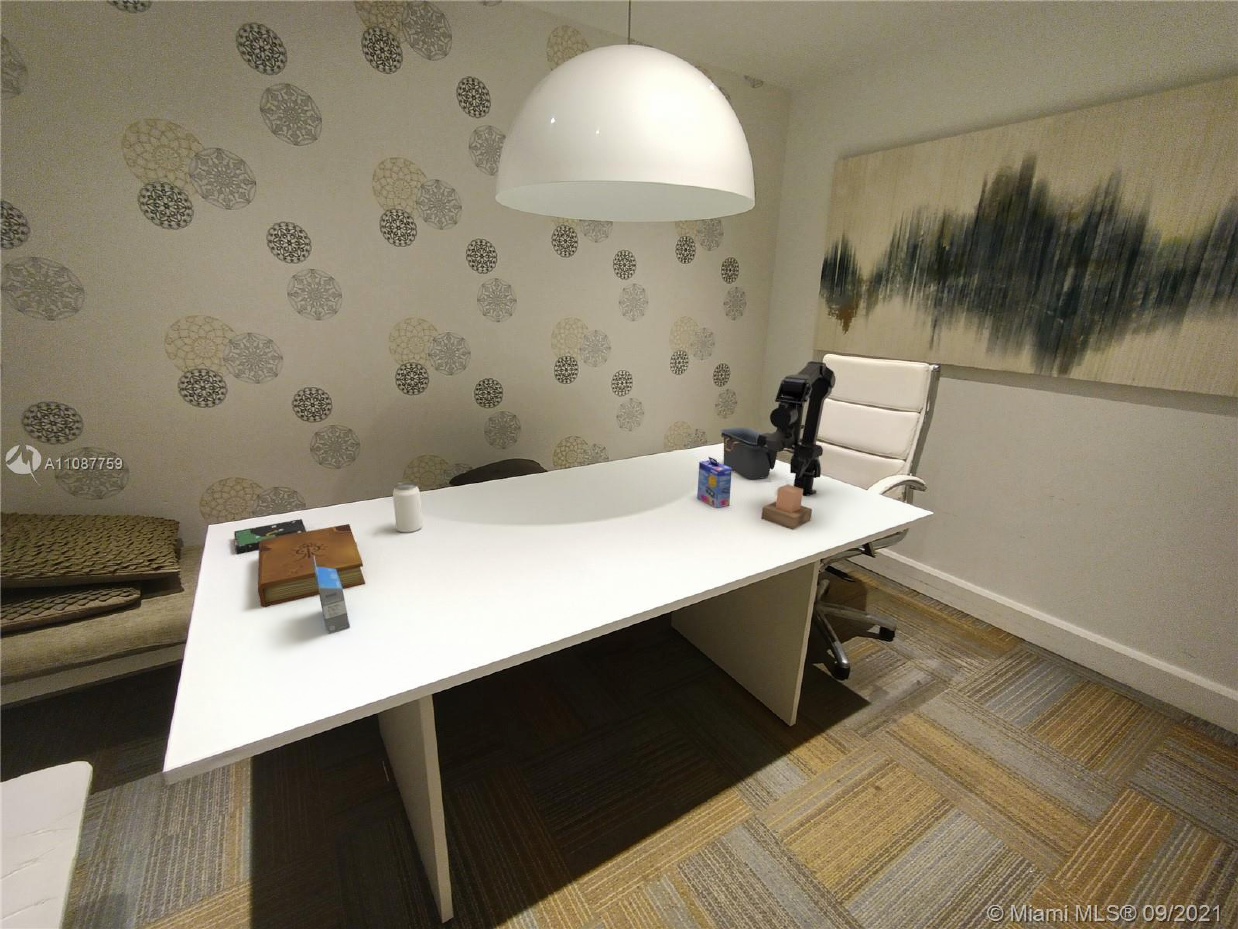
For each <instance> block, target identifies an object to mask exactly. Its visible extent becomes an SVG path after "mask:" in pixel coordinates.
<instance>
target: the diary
mask: <svg viewBox="0 0 1238 929" xmlns="http://www.w3.org/2000/svg"><path fill="white" fill-rule="evenodd" d="M314 555H315V562H316V567H323V568H331V569H336V570H337V573H338V576H339V579H340V582H341V585H342V588H343V590H346V589H351V588H355V587H359V586H363V585H366V581H365V578H364V577H365V576H364V575H363V571H362V567H363V566H364V565H363V564H364V563H363V560H362V557H361V554H360V551H359V549H358V545H357V543H356V540H355V536H354V534H353V531H352V528H351V524H350V523H348V524H347V523H346V524H340V525H337V526H336V525H335V526H330V527H325V528H318V529H313V530H308V531H307V530H306V532H301V533H295V534H289V535H284V536H278V537H272V538H267V539H262V541H261V542H260V543H259V550H258V562H257V563H258V564H257V567H258V568H257V569H258V570H257V593H258V598H259V603H260V606H261V607H262V608H267V607H268V608H269V607H271V606H276V605H281V604H285V603H289V602H293V601H298V600H302V599H306V598H311V597H315V596H319V591H318V586H317V580H316V575H315V570H314Z"/></svg>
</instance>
